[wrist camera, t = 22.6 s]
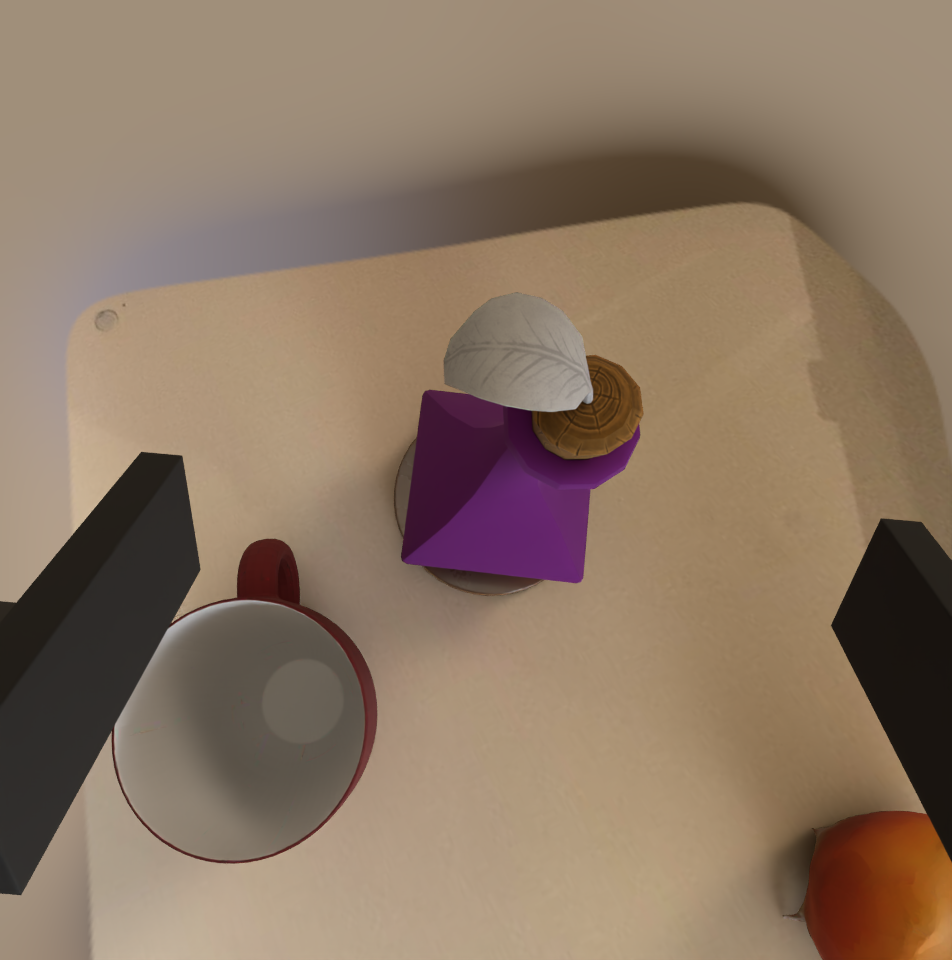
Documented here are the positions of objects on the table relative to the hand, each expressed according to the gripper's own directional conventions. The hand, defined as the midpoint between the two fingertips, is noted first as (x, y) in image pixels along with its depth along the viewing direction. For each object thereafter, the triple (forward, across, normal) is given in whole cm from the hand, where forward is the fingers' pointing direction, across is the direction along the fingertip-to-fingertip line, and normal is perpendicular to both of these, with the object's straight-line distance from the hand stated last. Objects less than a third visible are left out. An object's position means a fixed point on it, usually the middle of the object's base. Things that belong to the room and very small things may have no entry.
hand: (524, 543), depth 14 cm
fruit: (+7, +18, -22) cm, 29 cm away
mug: (+12, -8, -17) cm, 22 cm away
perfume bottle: (+17, 0, -11) cm, 20 cm away
